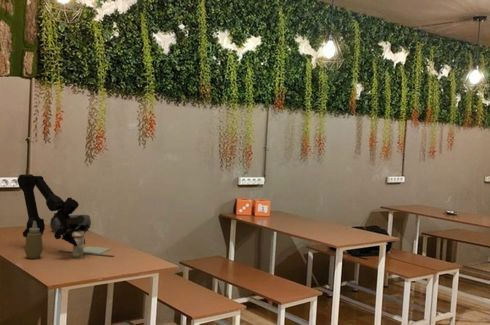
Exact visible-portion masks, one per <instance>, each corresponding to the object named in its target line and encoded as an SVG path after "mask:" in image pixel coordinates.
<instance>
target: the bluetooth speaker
mask: <svg viewBox="0 0 490 325" xmlns="http://www.w3.org/2000/svg"><path fill="white" fill-rule="evenodd" d="M69 215H70V217H71V218H75V217H78V216H80V215H81V214H69ZM82 215H83V217H84V219H85V220H84V221H83V223H80V224H79V226H78V227H77V228H79V227H80V226H81V225H83V224H88V225H89V227H91V224H92V221H91V220H92V219H91V216H90V215H89V214H82ZM60 225H61V224H60V222H59V220H58V219H57V218H55V219H53V216H52V217H51V218H50V223H49V227H50V229H51V231H53V232H57V230H58V229H59V228H63V227H60Z"/></svg>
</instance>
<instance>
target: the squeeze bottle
mask: <svg viewBox="0 0 490 325" xmlns="http://www.w3.org/2000/svg"><path fill="white" fill-rule="evenodd" d="M29 232H30V233H28V234H27V239H26V238H25V246H24V248H25V249H24V253H25V256H26V258H27V259H31V260H35V259H36V260H37V259H40V258H41V255H42V252H43V250H44V249H43V239H42V238H43V237H42V236H43V235H41V233H40V229H39V228H37V223H36V221H33V225H32V228H30V229H29Z"/></svg>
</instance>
